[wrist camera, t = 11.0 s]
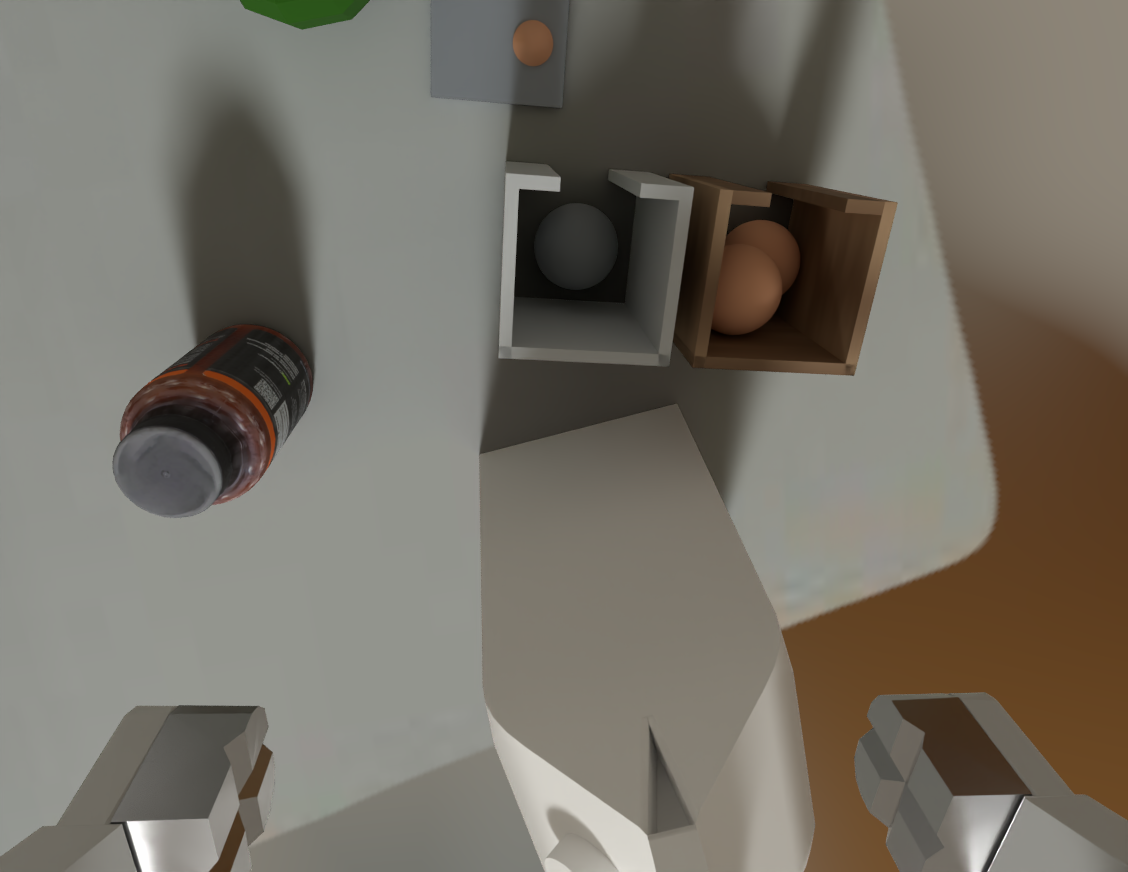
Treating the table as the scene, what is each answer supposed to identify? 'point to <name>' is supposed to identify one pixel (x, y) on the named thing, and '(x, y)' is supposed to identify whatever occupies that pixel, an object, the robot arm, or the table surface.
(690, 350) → the walnut tube
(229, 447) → the supplement bottle
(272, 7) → the bell pepper
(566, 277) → the tube ball charcoal
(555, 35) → the card
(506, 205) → the grey tube
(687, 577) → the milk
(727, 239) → the tube ball terracotta
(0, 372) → the table surface
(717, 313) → the loose ball
